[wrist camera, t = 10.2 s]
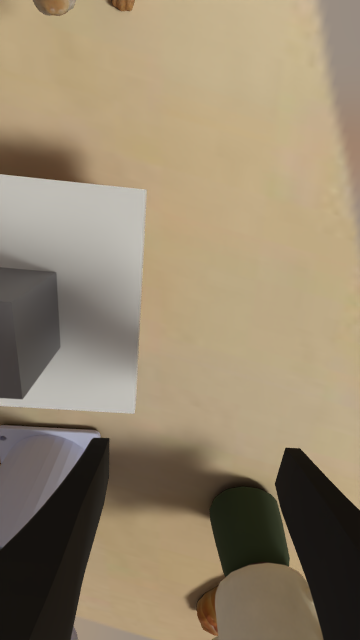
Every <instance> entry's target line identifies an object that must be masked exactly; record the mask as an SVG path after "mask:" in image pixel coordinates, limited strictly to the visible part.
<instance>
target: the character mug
mask: <svg viewBox="0 0 360 640" xmlns="http://www.w3.org/2000/svg"><path fill="white" fill-rule="evenodd" d="M209 510H210V521H211V525H212V530H213V534H214V539H215V543H216V547H217V550H218V554H219V558H220V561H221V565H222V569H223V573H224V575H225V578H224V579H223V580H222V581H221V582H220V583H219V586H218V588H217V591H216V595H215V610H216V619H217V628H218V636H217V637H215V638H213V639H212V640H323V636H322V632H321V628H320V624H319V620H318V617H317V613H316V610H315V606H314V603H313V599H312V595H311V592H310V588H309V585H308V583H307V581H306V580H305V579H304V578H303V576H302V575H301V574H300V573H299V572H298V571H296V570H294V569H292V568H290V567H289V559H290V558H289V553H288V548H287V543H286V538H285V533H284V528H283V523H282V519H281V515H280V511H279V508H278V504H277V501H276V500H275V498H274V497H273V496H272V495H271V494H269V493H267V492H265V491H263V490H261V489H257V488H250V487H243V486H242V487H237V488H231V489H227V490H225V491H224V492H222V493H221V494H219V495H218V496H217V497H215V499H214V501H213V503H212V505H211V507H210V509H209Z"/></svg>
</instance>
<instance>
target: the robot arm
mask: <svg viewBox="0 0 360 640" xmlns="http://www.w3.org/2000/svg"><path fill="white" fill-rule="evenodd" d="M4 436H5V437H4ZM0 460H1V465H0V640H78V637H77V632H76V630H75V628H74V626H73V625H74V620H75V615H76V610H77V605H78V601H79V596H80V591H81V586H82V581H83V577H84V573H85V569H86V566H87V562H88V559H89V555H90V551H91V548H92V544H93V541H94V537H95V534H96V530H97V527H98V523H99V520H100V516H101V512H102V509H103V505H104V501H105V495H106V490H107V484H108V478H109V438H100V433H99V432H98V431H96V430H83V429H65V428H47V427H28V426H10V425H1V426H0ZM275 486H276V490H277V495H278V499H279V503H280V507H281V511H282V514H283V516H284V519H285V522H286V525H287V527H288V530H289V533H290V536H291V538H292V541H293V544H294V546H295V549H296V552H297V555H298V557H299V560H300V563H301V565H302V568H303V571H304V573H305V576H306V579H307V582H308V585H309V588H310V592H311V595H312V599H313V603H314V606H315V610H316V613H317V617H318V620H319V624H320V628H321V632H322V636H323V640H360V510H359V509H358V508H357V507H356V506H355V505H354V504H353V503H352V502H351V501H350V500H349V499H347V498H346V497H345V496H344V494H343V493H342V492H341V491H340V490H339V489H338V488H337V487H336V486H335V485H334V484H333V483H332V482H331V481H330V480H329V479H328V478H327V477H326V476H325V475H324V474H323V473H322V471H321V470H320V469H319V468H318V467H317V466H316V465H315V464H314V463H313V462H312V461H311V460H310V459H309V457H308V456H307V455H306V454H305V453H304V452H303V451H302V450H301V449H300V448H285V451H284V455H283V458H282V462H281V465H280V468H279V472H278V475H277V478H276V482H275Z"/></svg>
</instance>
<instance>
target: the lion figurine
mask: <svg viewBox="0 0 360 640" xmlns="http://www.w3.org/2000/svg"><path fill="white" fill-rule="evenodd" d="M134 1H135V0H112V4H113V6H114V7H117V8H118V9H119V10H121V11H131V10H132V8H133V5H134ZM33 2H34V4H35V6H36V7H37V9H38V10H39V11H40V12H42V13H43V14H45V15H49V16H50V15H56V16H60V15H63V14H65V13H67V12H68V10H70V9H72V8H73V7H74V5H75V2H76V0H33Z"/></svg>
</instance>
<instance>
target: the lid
mask: <svg viewBox="0 0 360 640" xmlns="http://www.w3.org/2000/svg"><path fill="white" fill-rule="evenodd" d="M146 198H147V190H145V189H135V188H126V187H116V186H107V185H97V184H88V183H78V182H69V181H59V180H50V179H40V178H31V177H21V176H12V175H2V174H0V406H12V407H29V408H47V409H64V410H81V411H98V412H115V413H132V414H134V413H135V407H136V392H137V372H138V353H139V334H140V314H141V295H142V275H143V256H144V237H145V217H146Z"/></svg>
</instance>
